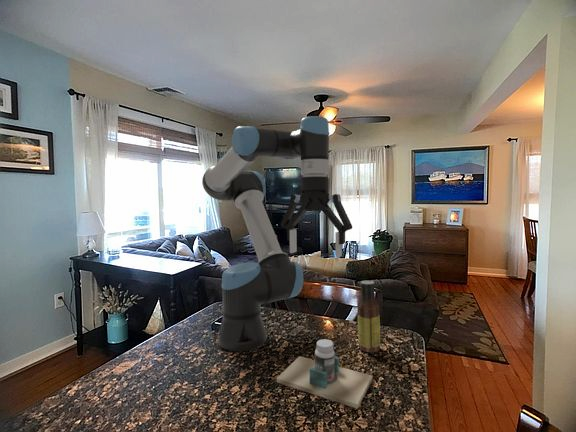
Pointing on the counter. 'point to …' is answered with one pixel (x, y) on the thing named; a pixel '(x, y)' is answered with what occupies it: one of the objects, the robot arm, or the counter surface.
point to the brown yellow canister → (368, 319)
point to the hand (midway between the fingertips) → (315, 254)
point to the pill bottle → (325, 358)
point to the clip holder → (340, 389)
